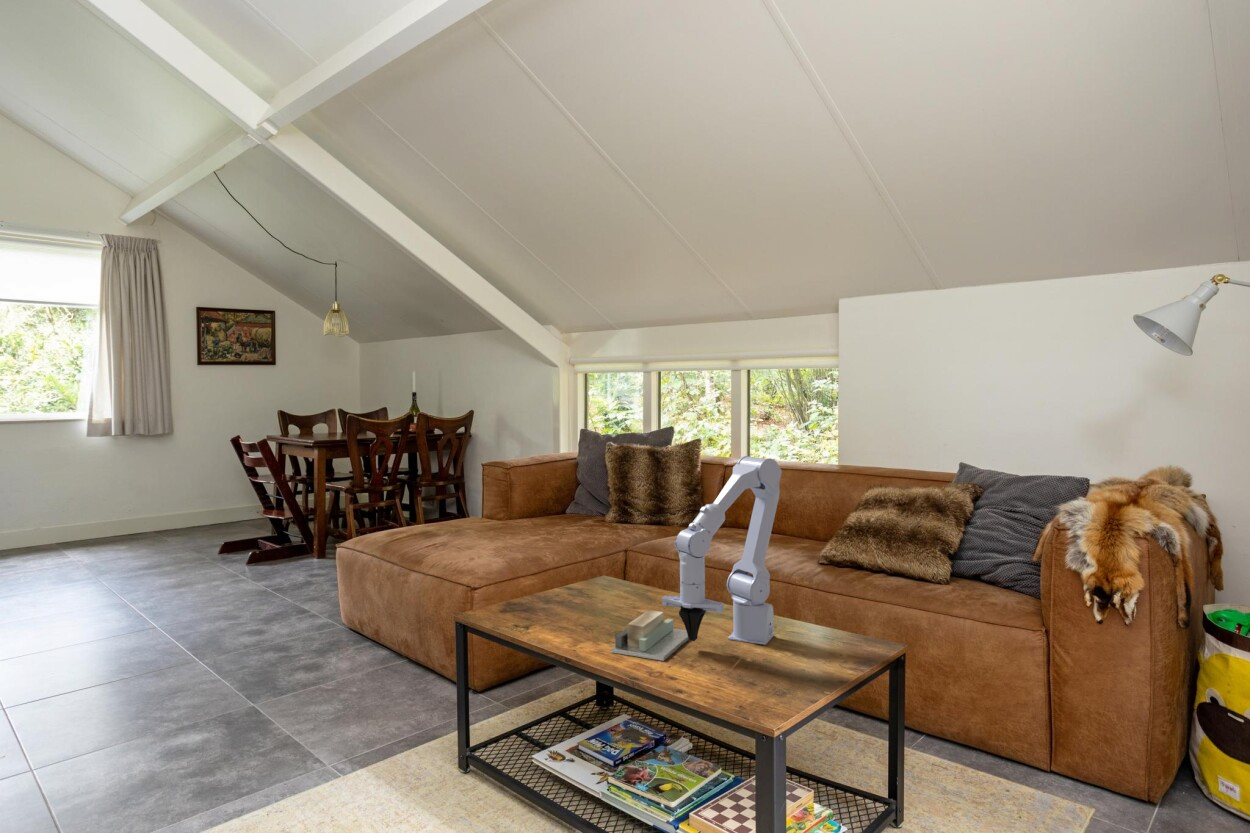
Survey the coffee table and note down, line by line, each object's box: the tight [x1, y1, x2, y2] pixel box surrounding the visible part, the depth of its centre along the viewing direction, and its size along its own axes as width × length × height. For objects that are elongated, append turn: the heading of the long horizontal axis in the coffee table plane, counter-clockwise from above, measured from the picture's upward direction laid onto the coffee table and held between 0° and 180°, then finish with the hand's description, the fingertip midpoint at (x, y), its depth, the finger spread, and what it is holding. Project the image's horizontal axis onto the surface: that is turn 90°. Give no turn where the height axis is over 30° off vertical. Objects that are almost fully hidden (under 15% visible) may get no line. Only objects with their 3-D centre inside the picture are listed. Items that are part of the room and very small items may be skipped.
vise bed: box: [611, 627, 690, 662], centre depth 178 cm, size 13×19×4 cm
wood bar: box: [626, 609, 664, 647], centre depth 179 cm, size 4×12×5 cm, turn 154°
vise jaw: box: [639, 618, 674, 651], centre depth 178 cm, size 2×17×2 cm, turn 154°
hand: (692, 639), depth 174 cm, fingers closed
